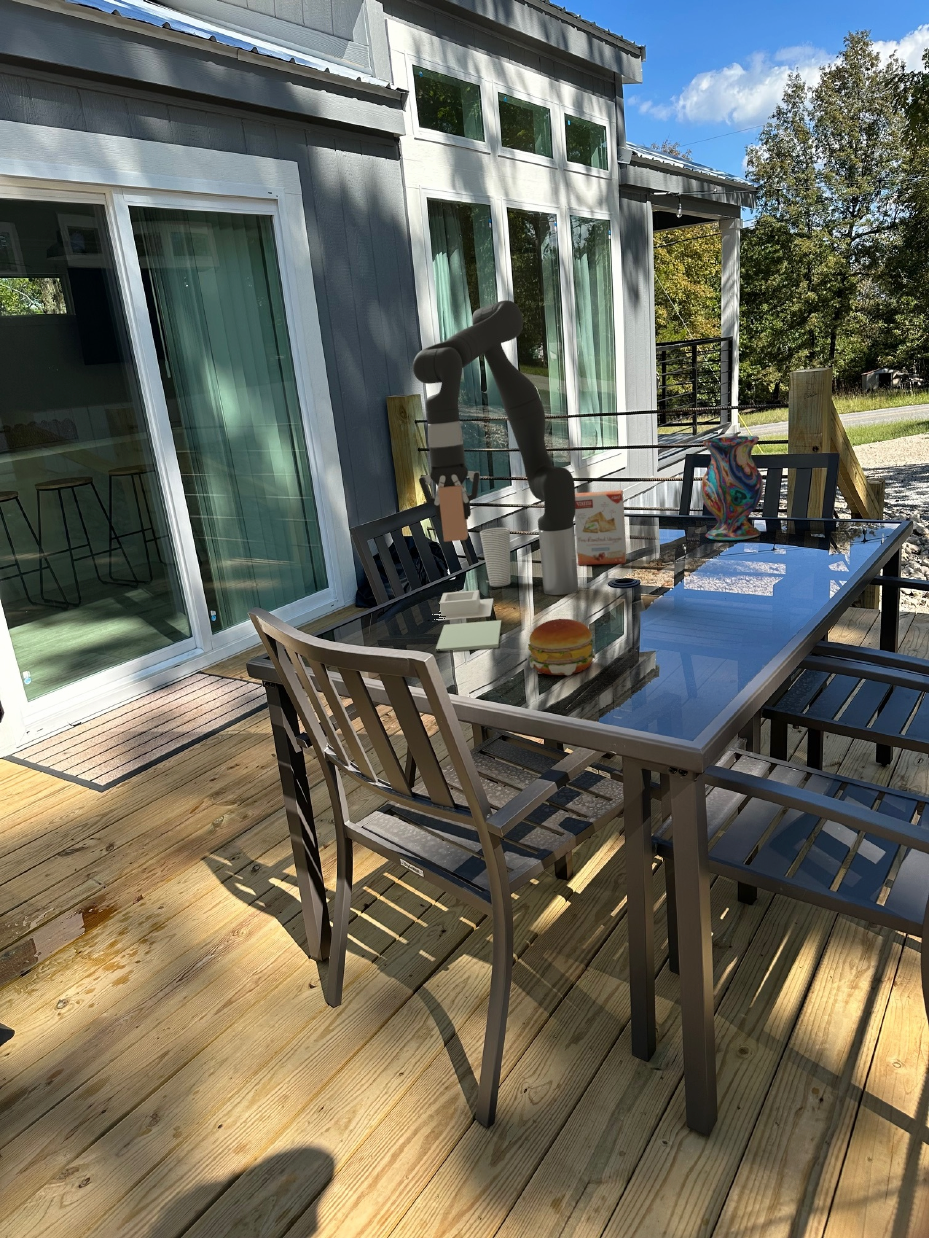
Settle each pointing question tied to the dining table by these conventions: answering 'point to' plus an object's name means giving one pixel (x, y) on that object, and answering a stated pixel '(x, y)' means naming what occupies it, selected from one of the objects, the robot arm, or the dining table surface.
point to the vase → (732, 487)
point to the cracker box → (600, 527)
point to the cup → (497, 555)
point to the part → (452, 513)
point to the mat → (470, 636)
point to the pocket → (464, 605)
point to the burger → (561, 647)
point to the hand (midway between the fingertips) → (454, 519)
